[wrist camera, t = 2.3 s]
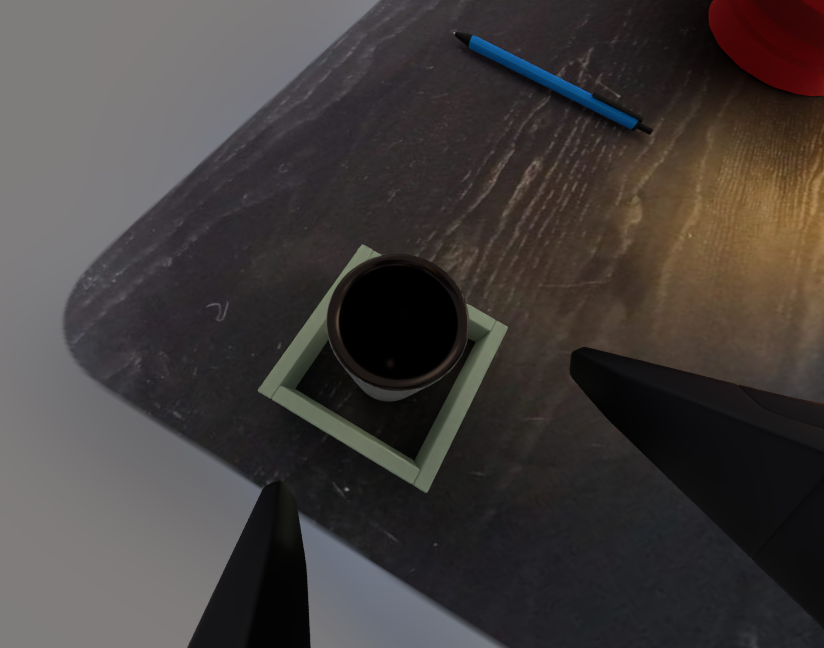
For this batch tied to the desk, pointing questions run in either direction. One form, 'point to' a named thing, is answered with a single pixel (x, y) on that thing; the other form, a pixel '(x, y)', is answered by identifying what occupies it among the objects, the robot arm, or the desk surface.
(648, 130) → the pen
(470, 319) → the square frame
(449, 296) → the grey cylindrical cup
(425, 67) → the desk surface
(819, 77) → the bowl
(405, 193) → the desk surface
